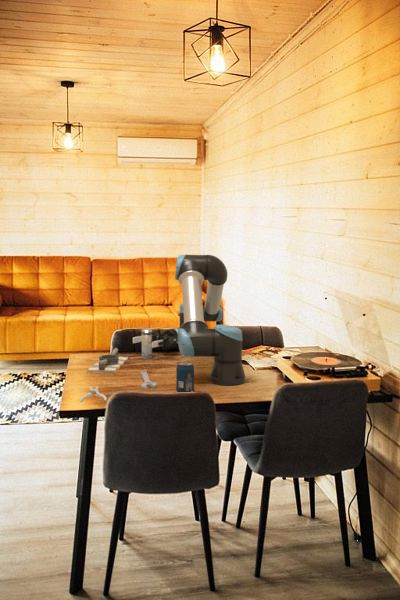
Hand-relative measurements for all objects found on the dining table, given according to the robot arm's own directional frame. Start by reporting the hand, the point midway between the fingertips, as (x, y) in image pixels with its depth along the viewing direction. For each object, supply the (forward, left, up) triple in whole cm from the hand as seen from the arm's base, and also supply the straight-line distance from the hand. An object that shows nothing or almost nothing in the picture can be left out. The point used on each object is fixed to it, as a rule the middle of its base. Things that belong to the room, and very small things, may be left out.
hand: (142, 342), depth 277 cm
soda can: (-50, -29, -8) cm, 58 cm away
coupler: (+2, -2, -8) cm, 8 cm away
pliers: (-58, +6, -9) cm, 59 cm away
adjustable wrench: (-36, -11, -9) cm, 39 cm away
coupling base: (-15, +12, -8) cm, 21 cm away
